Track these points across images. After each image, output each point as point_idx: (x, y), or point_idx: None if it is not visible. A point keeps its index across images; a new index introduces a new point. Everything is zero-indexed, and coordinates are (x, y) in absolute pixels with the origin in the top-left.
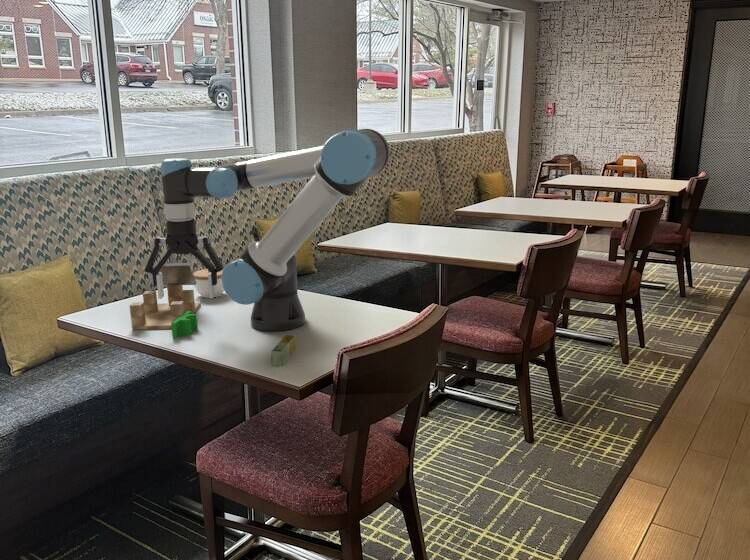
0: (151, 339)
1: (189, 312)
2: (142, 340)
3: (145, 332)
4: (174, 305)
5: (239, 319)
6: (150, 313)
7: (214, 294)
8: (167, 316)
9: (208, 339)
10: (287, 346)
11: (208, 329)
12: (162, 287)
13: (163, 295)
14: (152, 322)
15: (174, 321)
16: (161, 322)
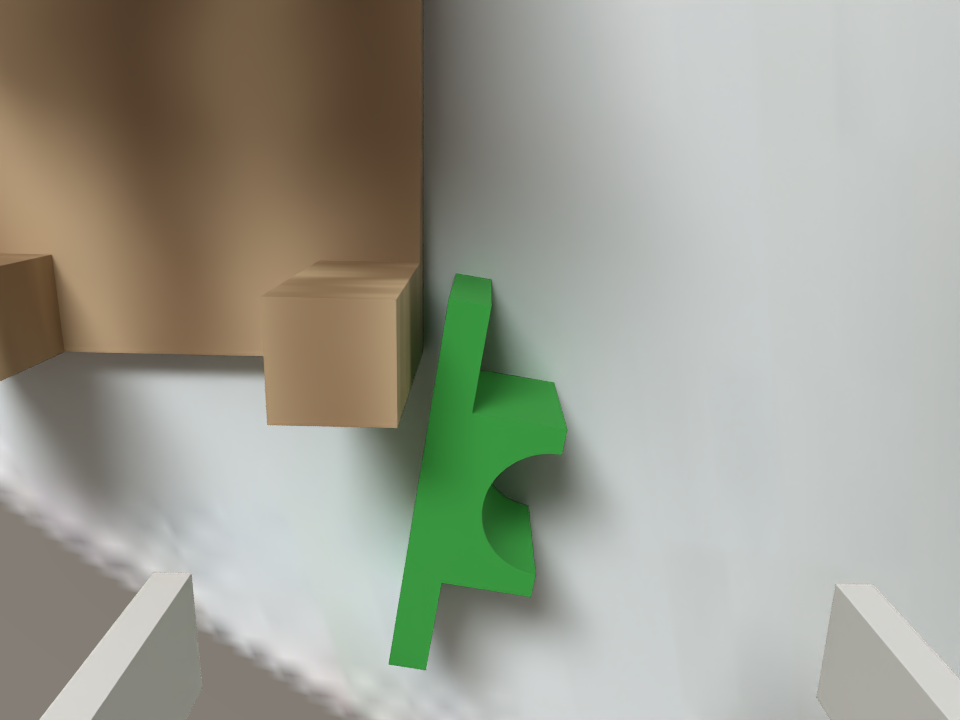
0: (244, 579)
1: (481, 360)
2: None
3: (132, 416)
4: (323, 423)
5: (907, 134)
6: None
7: (878, 594)
8: (188, 63)
9: (675, 622)
10: None
11: (644, 396)
12: (137, 691)
13: (188, 600)
14: (110, 252)
15: (402, 618)
16: (197, 263)
